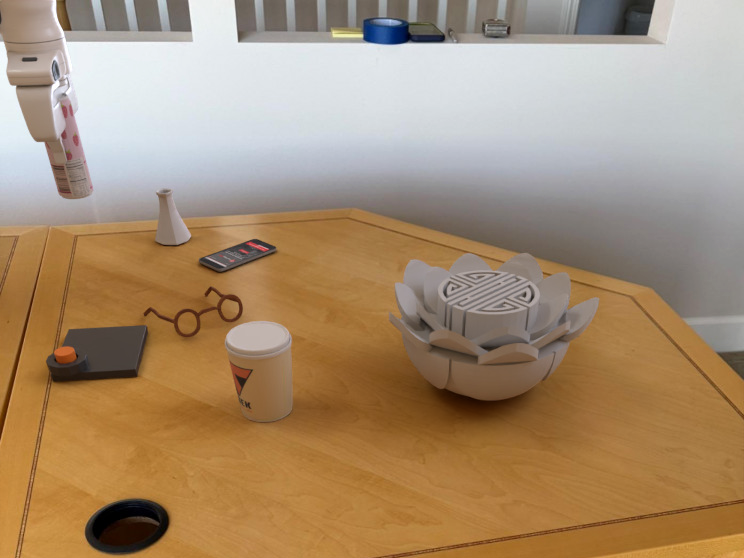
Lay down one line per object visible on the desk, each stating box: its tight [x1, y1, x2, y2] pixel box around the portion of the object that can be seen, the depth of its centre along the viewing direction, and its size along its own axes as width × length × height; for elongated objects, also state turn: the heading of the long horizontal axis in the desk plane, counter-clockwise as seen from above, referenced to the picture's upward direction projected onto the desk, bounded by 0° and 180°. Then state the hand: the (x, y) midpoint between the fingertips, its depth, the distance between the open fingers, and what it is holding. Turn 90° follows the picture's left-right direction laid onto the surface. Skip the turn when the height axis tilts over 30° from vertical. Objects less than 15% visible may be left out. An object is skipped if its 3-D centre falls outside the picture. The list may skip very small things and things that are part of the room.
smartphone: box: [198, 238, 277, 273], centre depth 157 cm, size 7×1×15 cm
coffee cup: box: [224, 320, 294, 423], centre depth 112 cm, size 9×9×12 cm
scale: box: [45, 324, 149, 383], centre depth 126 cm, size 14×16×3 cm
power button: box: [53, 346, 77, 364], centre depth 121 cm, size 3×3×2 cm
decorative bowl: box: [388, 252, 600, 402], centre depth 118 cm, size 30×30×15 cm
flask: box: [154, 188, 192, 246], centre depth 161 cm, size 7×7×10 cm
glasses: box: [142, 286, 244, 339], centre depth 136 cm, size 13×13×5 cm
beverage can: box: [43, 93, 94, 200], centre depth 127 cm, size 6×6×15 cm
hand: (66, 155), depth 128 cm, fingers closed on beverage can, 5 cm apart
